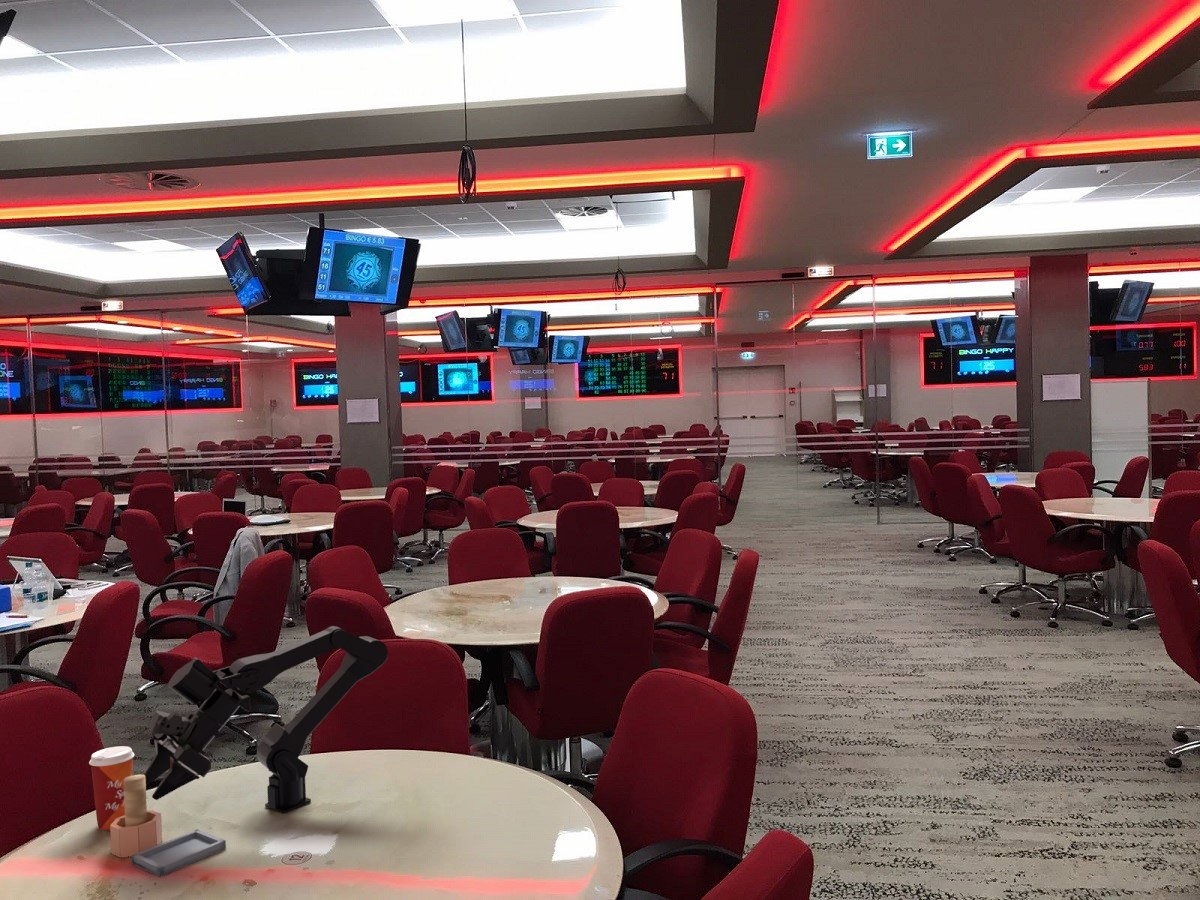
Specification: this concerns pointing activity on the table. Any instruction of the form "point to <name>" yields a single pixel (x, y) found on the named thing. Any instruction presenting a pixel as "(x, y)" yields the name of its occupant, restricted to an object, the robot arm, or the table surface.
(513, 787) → the table surface
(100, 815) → the paper cup
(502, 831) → the table surface
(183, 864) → the slate tray
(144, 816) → the oak peg
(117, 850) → the pot
